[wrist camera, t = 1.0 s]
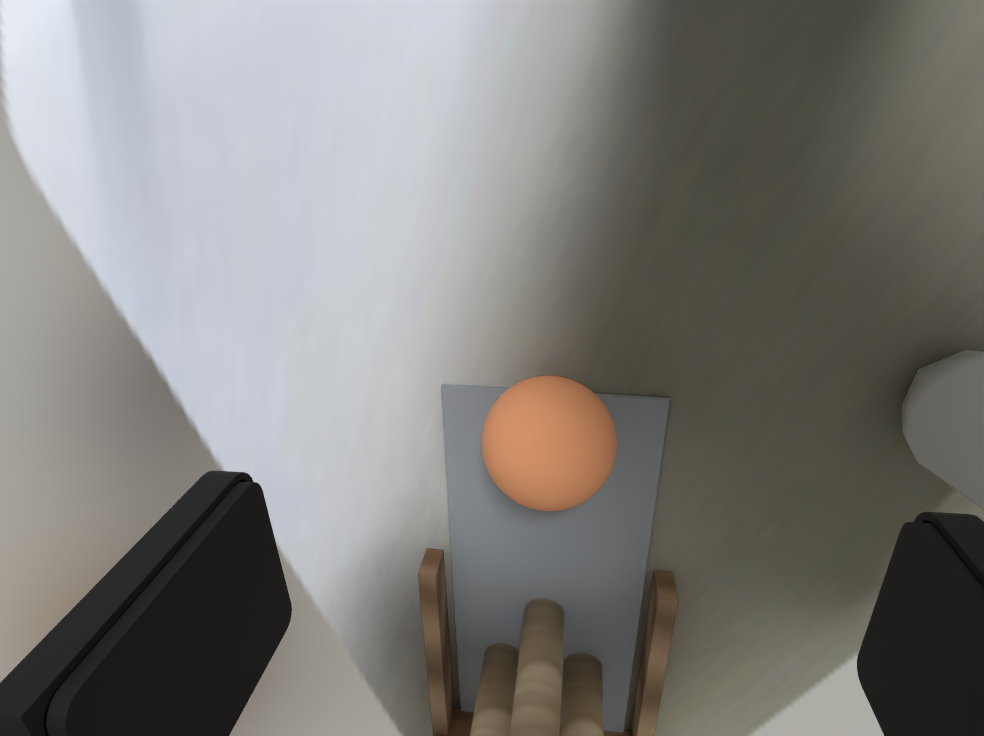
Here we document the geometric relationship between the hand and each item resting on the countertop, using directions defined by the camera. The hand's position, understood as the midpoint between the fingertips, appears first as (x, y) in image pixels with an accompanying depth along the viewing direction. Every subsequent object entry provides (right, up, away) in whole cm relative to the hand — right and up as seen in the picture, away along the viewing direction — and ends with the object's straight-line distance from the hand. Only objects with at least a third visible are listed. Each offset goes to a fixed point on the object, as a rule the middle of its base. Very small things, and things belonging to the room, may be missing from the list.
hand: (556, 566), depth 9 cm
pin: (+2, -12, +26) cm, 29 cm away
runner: (+2, -10, +25) cm, 27 cm away
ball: (+2, 0, +17) cm, 17 cm away
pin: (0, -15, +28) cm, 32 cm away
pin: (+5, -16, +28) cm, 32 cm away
